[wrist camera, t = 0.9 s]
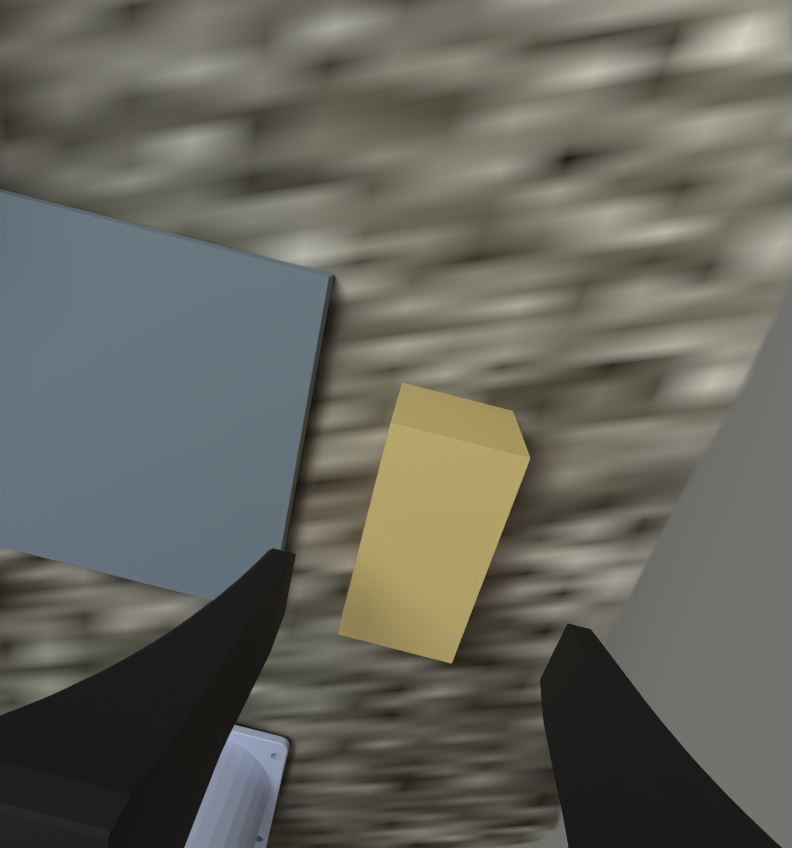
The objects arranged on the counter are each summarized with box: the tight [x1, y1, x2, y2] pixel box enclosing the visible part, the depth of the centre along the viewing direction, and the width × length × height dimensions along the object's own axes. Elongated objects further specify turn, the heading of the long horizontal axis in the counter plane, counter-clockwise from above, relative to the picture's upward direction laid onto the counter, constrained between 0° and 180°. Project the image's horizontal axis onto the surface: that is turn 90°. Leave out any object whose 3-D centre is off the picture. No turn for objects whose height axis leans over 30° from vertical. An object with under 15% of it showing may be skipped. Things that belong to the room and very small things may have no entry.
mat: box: [0, 189, 334, 601], centre depth 18 cm, size 14×12×1 cm
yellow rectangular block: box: [338, 383, 530, 663], centre depth 17 cm, size 8×4×4 cm, turn 167°
